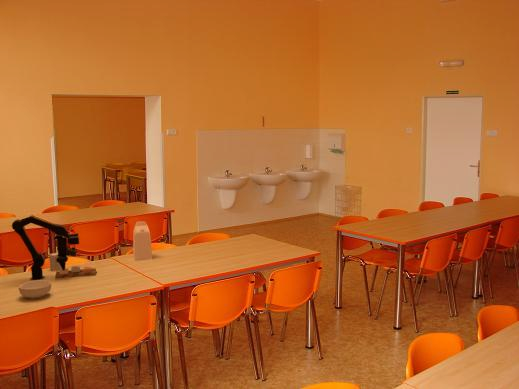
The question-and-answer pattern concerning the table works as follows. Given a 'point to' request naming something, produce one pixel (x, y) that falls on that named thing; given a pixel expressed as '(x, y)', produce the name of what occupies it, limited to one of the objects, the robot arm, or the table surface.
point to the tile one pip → (64, 271)
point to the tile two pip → (75, 269)
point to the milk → (141, 242)
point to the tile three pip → (87, 269)
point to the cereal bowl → (35, 288)
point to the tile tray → (75, 274)
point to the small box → (54, 262)
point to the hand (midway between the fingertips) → (63, 269)
